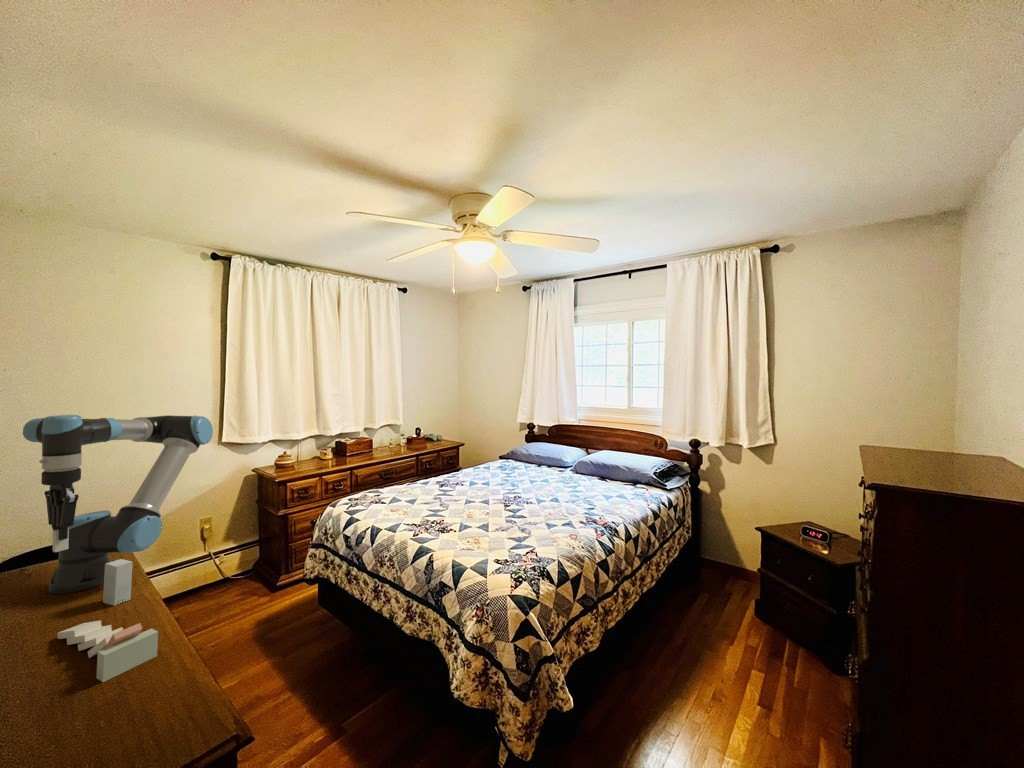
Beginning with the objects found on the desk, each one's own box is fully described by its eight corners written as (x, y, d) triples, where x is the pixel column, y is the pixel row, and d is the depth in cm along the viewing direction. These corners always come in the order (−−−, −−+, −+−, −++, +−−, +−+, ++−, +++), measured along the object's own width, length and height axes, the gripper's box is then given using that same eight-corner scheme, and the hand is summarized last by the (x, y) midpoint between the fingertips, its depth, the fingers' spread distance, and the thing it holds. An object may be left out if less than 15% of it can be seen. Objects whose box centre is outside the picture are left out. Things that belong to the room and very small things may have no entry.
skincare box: (131, 599, 124) (133, 561, 124) (114, 606, 120) (116, 566, 120) (119, 596, 126) (121, 558, 126) (102, 602, 122) (104, 563, 122)
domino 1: (57, 632, 104) (74, 630, 100) (83, 623, 109) (101, 620, 105) (57, 639, 104) (74, 637, 100) (84, 629, 108) (101, 626, 105)
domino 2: (66, 638, 102) (84, 635, 98) (93, 628, 106) (111, 624, 103) (67, 645, 102) (85, 641, 98) (93, 634, 106) (111, 631, 102)
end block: (96, 678, 90) (97, 651, 90) (150, 652, 99) (151, 628, 100) (102, 682, 89) (104, 655, 89) (157, 656, 98) (158, 631, 98)
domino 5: (127, 652, 99) (142, 628, 97) (100, 665, 95) (115, 639, 92) (125, 647, 100) (140, 622, 97) (98, 659, 95) (113, 633, 93)
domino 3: (77, 644, 100) (95, 637, 96) (104, 634, 104) (122, 627, 101) (78, 651, 99) (96, 644, 96) (105, 640, 104) (123, 633, 100)
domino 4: (87, 651, 97) (105, 637, 94) (114, 640, 102) (132, 626, 99) (88, 658, 97) (106, 644, 94) (115, 646, 101) (133, 633, 98)
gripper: (31, 469, 113) (30, 551, 113) (54, 474, 108) (52, 559, 108) (68, 464, 119) (67, 541, 120) (91, 468, 115) (90, 549, 115)
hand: (60, 550), depth 114 cm, fingers closed
